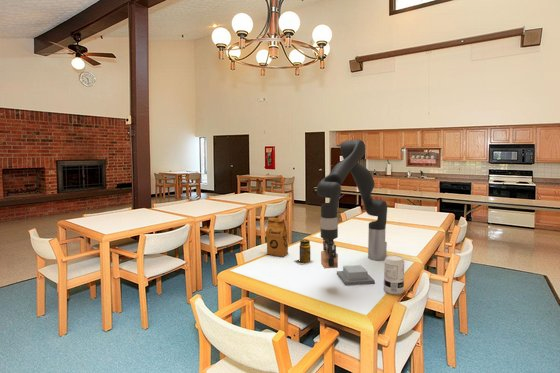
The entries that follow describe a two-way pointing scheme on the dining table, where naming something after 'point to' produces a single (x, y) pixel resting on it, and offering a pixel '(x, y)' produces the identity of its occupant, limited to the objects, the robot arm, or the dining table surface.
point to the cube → (326, 260)
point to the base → (355, 282)
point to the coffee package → (277, 237)
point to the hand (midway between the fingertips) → (329, 263)
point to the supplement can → (394, 274)
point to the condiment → (304, 252)
